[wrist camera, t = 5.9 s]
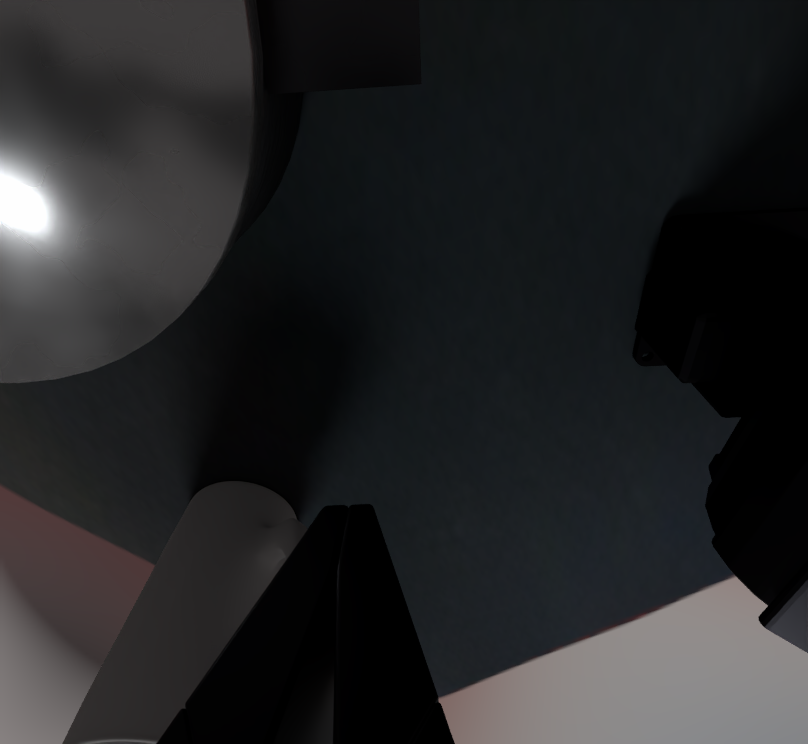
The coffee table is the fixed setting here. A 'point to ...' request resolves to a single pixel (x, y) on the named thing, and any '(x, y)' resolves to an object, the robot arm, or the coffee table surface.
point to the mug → (188, 611)
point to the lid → (118, 170)
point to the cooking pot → (324, 67)
